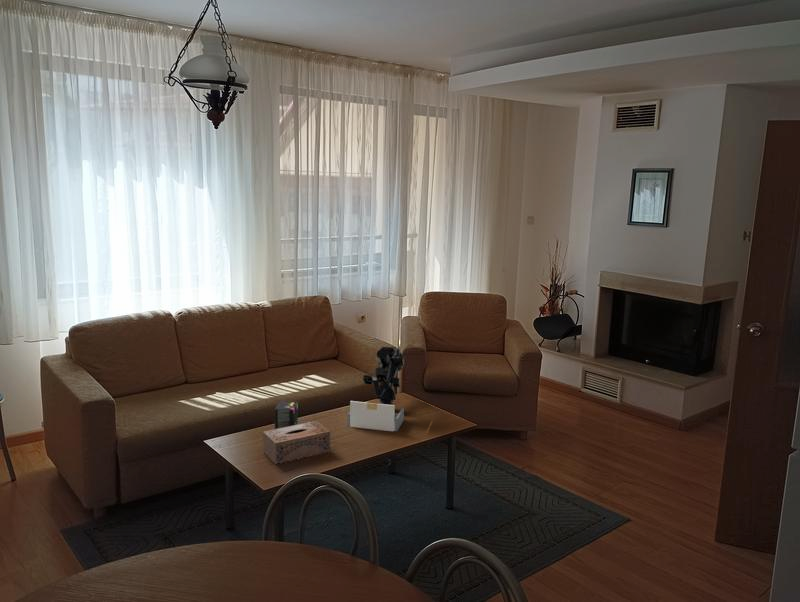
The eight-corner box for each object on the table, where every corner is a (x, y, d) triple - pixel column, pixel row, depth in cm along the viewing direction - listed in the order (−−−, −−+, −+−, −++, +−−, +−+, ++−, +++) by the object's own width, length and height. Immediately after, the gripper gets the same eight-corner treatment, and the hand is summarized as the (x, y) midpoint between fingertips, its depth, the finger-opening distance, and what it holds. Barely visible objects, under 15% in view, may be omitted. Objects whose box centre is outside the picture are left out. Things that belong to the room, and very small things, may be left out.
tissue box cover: (315, 441, 293) (315, 420, 291) (330, 452, 281) (330, 431, 279) (263, 452, 279) (262, 431, 277) (275, 465, 267) (275, 443, 265)
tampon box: (294, 439, 294) (293, 409, 291) (274, 438, 294) (274, 409, 291) (298, 430, 304) (298, 401, 302) (279, 429, 304) (279, 401, 302)
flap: (350, 426, 309) (350, 400, 307) (394, 430, 304) (394, 405, 302) (349, 426, 308) (350, 401, 306) (393, 431, 303) (394, 405, 301)
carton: (356, 416, 324) (356, 403, 322) (403, 421, 319) (403, 408, 317) (347, 427, 309) (347, 413, 308) (397, 432, 304) (397, 419, 303)
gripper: (363, 359, 319) (357, 386, 311) (399, 362, 315) (394, 390, 307) (367, 369, 328) (361, 396, 320) (402, 372, 324) (397, 400, 316)
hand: (378, 395), depth 315 cm, fingers closed
